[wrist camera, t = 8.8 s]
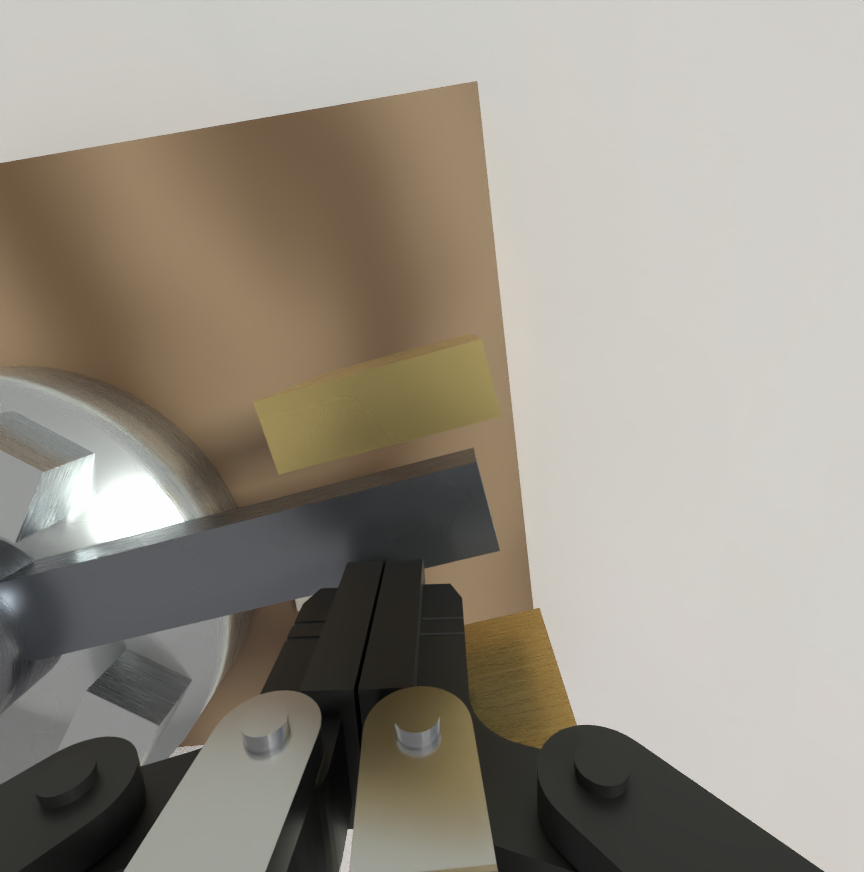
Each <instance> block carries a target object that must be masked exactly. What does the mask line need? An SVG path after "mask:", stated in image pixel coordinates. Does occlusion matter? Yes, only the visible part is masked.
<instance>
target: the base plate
mask: <svg viewBox="0 0 864 872" xmlns="http://www.w3.org/2000/svg"><path fill="white" fill-rule="evenodd" d="M468 333H471V334H473V335H475V336H477V337H479V338H481V339H482V342H483V346H484V350H485V354H486V358H487V362H488V366H489V370H490V374H491V378H492V382H493V386H494V390H495V394H496V398H497V402H498V406H499V410H500V414H501V417H498V418H494V419H490V420H486V421H482V422H478V423H475V424H471V425H467V426H463V427H459V428H455V429H452V430H448V431H444V432H440V433H436V434H432V435H429V436H425V437H421V438H417V439H413V440H409V441H406V442H402V443H398V444H394V445H390V446H386V447H383V448H379V449H375V450H371V451H367V452H363V453H360V454H356V455H352V456H348V457H344V458H341V459H337V460H333V461H329V462H325V463H321V464H318V465H314V466H310V467H306V468H302V469H298V470H295V471H291V472H287V473H283V474H278V472H277V469H276V466H275V463H274V460H273V457H272V455H271V452H270V449H269V446H268V443H267V440H266V438H265V435H264V432H263V429H262V426H261V423H260V421H259V418H258V415H257V412H256V409H255V406H254V404H253V402H254V401H257V400H259V399H261V398H264V397H266V396H269V395H271V394H274V393H276V392H279V391H281V390H284V389H286V388H288V387H291V386H293V385H296V384H298V383H301V382H303V381H306V380H308V379H311V378H313V377H315V376H318V375H320V374H324V373H327V372H331V371H334V370H338V369H342V368H345V367H349V366H353V365H356V364H360V363H363V362H367V361H371V360H374V359H378V358H381V357H385V356H389V355H392V354H396V353H399V352H403V351H407V350H410V349H414V348H417V347H421V346H425V345H428V344H432V343H435V342H439V341H443V340H446V339H450V338H453V337H457V336H461V335H464V334H468ZM15 365H25V366H41V367H51V368H56V369H61V370H66V371H71V372H76V373H79V374H82V375H85V376H89V377H92V378H95V379H98V380H101V381H104V382H106V383H108V384H110V385H113V386H115V387H117V388H119V389H121V390H123V391H125V392H128V393H130V394H132V395H133V396H135V397H137V398H138V399H140V400H141V401H143V402H145V403H146V404H148V405H149V406H151V407H153V408H154V409H156V410H157V411H159V412H160V413H161V414H162V415H164V416H165V417H166V418H167V419H169V420H170V421H171V422H172V423H174V424H175V425H176V426H178V427H179V428H180V429H181V430H182V431H183V432H184V433H185V434H186V435H187V436H188V437H189V438H190V439H191V440H192V441H193V442H194V443H195V444H196V445H197V446H198V447H199V448H200V449H201V450H202V452H203V453H204V454H205V455H206V457H207V458H208V459H209V461H210V462H211V463H212V464H213V466H214V467H215V468H216V469H217V471H218V472H219V474H220V475H221V477H222V479H223V480H224V482H225V484H226V485H227V487H228V489H229V490H230V492H231V494H232V495H233V498H234V500H235V502H236V504H237V506H238V508H239V507H243V506H247V505H251V504H255V503H259V502H263V501H267V500H271V499H275V498H278V497H282V496H286V495H290V494H294V493H298V492H302V491H306V490H310V489H313V488H317V487H321V486H325V485H329V484H333V483H337V482H341V481H345V480H349V479H352V478H356V477H360V476H364V475H368V474H372V473H376V472H380V471H384V470H388V469H391V468H395V467H399V466H403V465H407V464H411V463H415V462H419V461H423V460H426V459H430V458H434V457H438V456H442V455H446V454H450V453H454V452H458V451H462V450H465V449H469V448H473V447H474V451H475V454H476V458H477V462H478V466H479V470H480V473H481V477H482V481H483V485H484V489H485V492H486V496H487V500H488V504H489V508H490V511H491V515H492V519H493V523H494V527H495V531H496V535H497V539H498V544H499V548H500V551H497V552H493V553H489V554H485V555H480V556H476V557H472V558H468V559H463V560H459V561H455V562H451V563H447V564H442V565H438V566H434V567H430V568H425V569H424V570H425V584H448V583H450V584H451V585H452V586H453V587H454V589H455V590H456V591H457V592H458V593H459V595H460V596H461V597H462V602H463V616H464V625H466V624H470V623H475V622H479V621H484V620H488V619H493V618H497V617H501V616H506V615H510V614H515V613H519V612H524V611H528V610H533V601H532V592H531V582H530V573H529V563H528V554H527V545H526V535H525V526H524V517H523V507H522V498H521V488H520V479H519V470H518V460H517V451H516V441H515V432H514V423H513V413H512V404H511V394H510V385H509V376H508V366H507V357H506V347H505V338H504V329H503V319H502V310H501V300H500V291H499V282H498V272H497V263H496V254H495V244H494V235H493V225H492V216H491V207H490V197H489V188H488V178H487V169H486V160H485V150H484V141H483V131H482V122H481V113H480V103H479V94H478V84H477V81H475V82H470V83H464V84H458V85H452V86H446V87H441V88H435V89H429V90H423V91H417V92H412V93H406V94H400V95H394V96H388V97H382V98H377V99H371V100H365V101H359V102H353V103H348V104H342V105H336V106H330V107H324V108H319V109H313V110H307V111H301V112H295V113H290V114H284V115H278V116H272V117H266V118H260V119H255V120H249V121H243V122H237V123H231V124H226V125H220V126H214V127H208V128H202V129H197V130H191V131H185V132H179V133H173V134H167V135H162V136H156V137H150V138H144V139H138V140H133V141H127V142H121V143H115V144H109V145H104V146H98V147H92V148H86V149H80V150H75V151H69V152H63V153H57V154H51V155H45V156H40V157H34V158H28V159H22V160H16V161H11V162H5V163H0V367H1V366H15ZM311 596H313V595H311ZM311 596H307V597H303V598H299V599H295V600H290V601H286V602H282V603H278V604H273V605H269V606H265V607H261V608H257V609H253V614H252V618H251V622H250V625H249V629H248V632H247V636H246V638H245V641H244V643H243V645H242V647H241V649H240V652H239V654H238V656H237V658H236V659H235V661H234V663H233V664H232V666H231V667H230V669H229V670H228V672H227V674H226V675H225V677H224V678H223V680H222V682H221V683H220V685H219V686H218V688H217V689H216V691H215V693H214V694H213V696H212V697H211V699H210V701H209V702H208V704H207V705H206V707H205V709H204V710H203V712H202V713H201V715H200V716H199V718H198V720H197V721H196V723H195V724H194V726H193V727H192V729H191V730H190V732H189V733H188V735H187V736H186V738H185V739H184V741H183V742H182V743H181V744H180V745H179V746H178V747H184V746H195V745H204V744H205V743H206V741H207V740H208V738H209V737H210V735H211V733H212V732H213V730H214V729H215V727H216V726H217V725H218V723H219V722H220V721H221V720H222V719H223V718H224V716H225V715H226V714H228V713H229V712H230V711H231V710H232V709H234V708H235V707H237V706H238V705H240V704H241V703H243V702H245V701H247V700H249V699H250V698H253V697H255V696H258V695H260V693H261V691H262V689H263V687H264V685H265V683H266V681H267V678H268V676H269V674H270V672H271V670H272V668H273V666H274V664H275V662H276V660H277V657H278V655H279V653H280V651H281V649H282V647H283V645H284V643H285V641H287V636H288V634H289V632H290V630H291V628H292V626H293V625H294V622H295V620H296V618H297V615H298V613H299V611H300V609H301V607H302V605H303V603H305V602H306V601H307V600H308V599H309V598H310V597H311Z"/></svg>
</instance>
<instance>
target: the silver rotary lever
mask: <svg viewBox="0 0 864 872" xmlns="http://www.w3.org/2000/svg"><path fill="white" fill-rule="evenodd" d="M253 404H254V406H255V409H256V412H257V415H258V418H259V421H260V423H261V426H262V429H263V432H264V435H265V438H266V440H267V443H268V446H269V449H270V452H271V455H272V457H273V460H274V463H275V466H276V469H277V472H278V474H283V473H287V472H291V471H295V470H298V469H302V468H306V467H310V466H314V465H318V464H321V463H325V462H329V461H333V460H337V459H341V458H344V457H348V456H352V455H356V454H360V453H363V452H367V451H371V450H375V449H379V448H383V447H386V446H390V445H394V444H398V443H402V442H406V441H409V440H413V439H417V438H421V437H425V436H429V435H432V434H436V433H440V432H444V431H448V430H452V429H455V428H459V427H463V426H467V425H471V424H475V423H478V422H482V421H486V420H490V419H494V418H498V417H501V414H500V410H499V406H498V402H497V398H496V394H495V390H494V386H493V382H492V378H491V374H490V370H489V366H488V362H487V358H486V354H485V350H484V346H483V342H482V339H481V338H479V337H477V336H475V335H473V334H471V333H468V334H464V335H461V336H457V337H453V338H450V339H446V340H443V341H439V342H435V343H432V344H428V345H425V346H421V347H417V348H414V349H410V350H407V351H403V352H399V353H396V354H392V355H389V356H385V357H381V358H378V359H374V360H371V361H367V362H363V363H360V364H356V365H353V366H349V367H345V368H342V369H338V370H334V371H331V372H327V373H324V374H320V375H318V376H315V377H313V378H311V379H308V380H306V381H303V382H301V383H298V384H296V385H293V386H291V387H288V388H286V389H284V390H281V391H279V392H276V393H274V394H271V395H269V396H266V397H264V398H261V399H259V400H257V401H254V402H253ZM497 551H500V548H499V544H498V539H497V535H496V531H495V527H494V523H493V519H492V515H491V511H490V508H489V504H488V500H487V496H486V492H485V489H484V485H483V481H482V477H481V473H480V470H479V466H478V462H477V458H476V454H475V451H474V447H473V448H469V449H465V450H462V451H458V452H454V453H450V454H446V455H442V456H438V457H434V458H430V459H426V460H423V461H419V462H415V463H411V464H407V465H403V466H399V467H395V468H391V469H388V470H384V471H380V472H376V473H372V474H368V475H364V476H360V477H356V478H352V479H349V480H345V481H341V482H337V483H333V484H329V485H325V486H321V487H317V488H313V489H310V490H306V491H302V492H298V493H294V494H290V495H286V496H282V497H278V498H275V499H271V500H267V501H263V502H259V503H255V504H251V505H247V506H243V507H239V508H238V506H237V504H236V502H235V500H234V498H233V495H232V494H231V492H230V490H229V489H228V487H227V485H226V484H225V482H224V480H223V479H222V477H221V475H220V474H219V472H218V471H217V469H216V468H215V467H214V466H213V464H212V463H211V462H210V461H209V459H208V458H207V457H206V455H205V454H204V453H203V452H202V450H201V449H200V448H199V447H198V446H197V445H196V444H195V443H194V442H193V441H192V440H191V439H190V438H189V437H188V436H187V435H186V434H185V433H184V432H183V431H182V430H181V429H180V428H179V427H178V426H176V425H175V424H174V423H172V422H171V421H170V420H169V419H167V418H166V417H165V416H164V415H162V414H161V413H160V412H159V411H157V410H156V409H154V408H153V407H151V406H149V405H148V404H146V403H145V402H143V401H141V400H140V399H138V398H137V397H135V396H133V395H132V394H130V393H128V392H125V391H123V390H121V389H119V388H117V387H115V386H113V385H110V384H108V383H106V382H104V381H101V380H98V379H95V378H92V377H89V376H85V375H82V374H79V373H76V372H71V371H66V370H61V369H56V368H51V367H41V366H25V365H15V366H1V367H0V784H2V783H4V782H6V781H7V780H9V779H11V778H13V777H14V776H16V775H18V774H19V773H21V772H23V771H25V770H26V769H28V768H30V767H32V766H33V765H35V764H37V763H39V762H40V761H42V760H44V759H45V758H47V757H49V756H51V755H52V754H54V753H56V752H58V751H60V750H62V749H64V748H66V747H69V746H71V745H73V744H76V743H79V742H82V741H85V740H89V739H93V738H98V737H106V736H110V737H120V738H124V739H126V740H128V741H130V742H131V743H132V744H133V745H134V746H135V748H136V750H137V753H138V757H139V761H140V765H141V766H144V765H147V764H151V763H154V762H158V761H161V760H164V759H167V758H168V757H169V756H170V755H171V754H172V753H173V752H174V750H175V749H176V748H177V747H178V746H179V745H180V744H181V743H182V742H183V741H184V739H185V738H186V736H187V735H188V733H189V732H190V730H191V729H192V727H193V726H194V724H195V723H196V721H197V720H198V718H199V716H200V715H201V713H202V712H203V710H204V709H205V707H206V705H207V704H208V702H209V701H210V699H211V697H212V696H213V694H214V693H215V691H216V689H217V688H218V686H219V685H220V683H221V682H222V680H223V678H224V677H225V675H226V674H227V672H228V670H229V669H230V667H231V666H232V664H233V663H234V661H235V659H236V658H237V656H238V654H239V652H240V649H241V647H242V645H243V643H244V641H245V638H246V636H247V632H248V629H249V625H250V622H251V618H252V614H253V609H257V608H261V607H265V606H269V605H273V604H278V603H282V602H286V601H290V600H295V599H299V598H303V597H307V596H311V595H314V594H315V593H316V592H317V591H318V590H319V589H321V588H338V586H339V584H340V581H341V578H342V576H343V573H344V570H345V568H346V565H347V563H348V562H363V561H385V562H387V560H412V559H423V560H424V569H425V568H430V567H434V566H438V565H442V564H447V563H451V562H455V561H459V560H463V559H468V558H472V557H476V556H480V555H485V554H489V553H493V552H497ZM464 630H465V644H466V657H467V671H468V685H469V697H470V703H471V706H472V708H473V711H474V712H475V714H476V716H477V717H478V718H479V720H480V721H481V722H482V723H483V724H484V725H485V726H486V727H487V728H489V729H490V730H491V731H493V732H494V733H496V734H497V735H499V736H501V737H503V738H505V739H507V740H510V741H513V742H516V743H520V744H524V745H527V746H531V747H535V748H539V749H541V748H542V746H543V745H544V743H545V742H546V741H547V740H548V739H549V738H550V737H551V736H552V735H553V734H555V733H556V732H558V731H560V730H562V729H565V728H568V727H572V726H577V724H576V721H575V718H574V715H573V712H572V709H571V706H570V703H569V699H568V696H567V693H566V690H565V687H564V684H563V681H562V677H561V674H560V671H559V668H558V665H557V662H556V659H555V656H554V652H553V649H552V646H551V643H550V640H549V637H548V634H547V630H546V627H545V624H544V621H543V618H542V615H541V612H540V609H539V608H537V609H533V610H528V611H524V612H519V613H515V614H510V615H506V616H501V617H497V618H493V619H488V620H484V621H479V622H475V623H470V624H466V625H464Z"/></svg>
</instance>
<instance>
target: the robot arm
mask: <svg viewBox="0 0 864 872" xmlns="http://www.w3.org/2000/svg"><path fill="white" fill-rule="evenodd" d="M347 829H353V838H352V849H351V859H350V870H349V872H824V871H822V870H821V869H820V868H818V867H817V866H815V865H814V864H812V863H811V862H809V861H808V860H807V859H805V858H804V857H802V856H801V855H799V854H798V853H796V852H795V851H794V850H792V849H791V848H789V847H788V846H786V845H785V844H784V843H782V842H781V841H779V840H778V839H776V838H775V837H773V836H772V835H771V834H769V833H768V832H766V831H765V830H763V829H762V828H760V827H759V826H758V825H756V824H755V823H753V822H752V821H750V820H749V819H747V818H746V817H745V816H743V815H742V814H740V813H739V812H737V811H736V810H734V809H733V808H732V807H730V806H729V805H727V804H726V803H724V802H723V801H721V800H720V799H719V798H717V797H716V796H714V795H713V794H711V793H710V792H708V791H707V790H706V789H704V788H703V787H701V786H700V785H698V784H697V783H695V782H694V781H693V780H691V779H690V778H688V777H687V776H685V775H684V774H682V773H681V772H680V771H678V770H677V769H675V768H674V767H672V766H671V765H669V764H668V763H667V762H665V761H664V760H662V759H661V758H659V757H658V756H657V755H655V754H654V753H652V752H651V751H649V750H648V749H646V748H645V747H644V746H642V745H641V744H639V743H638V742H636V741H635V740H633V739H631V738H630V737H628V736H626V735H624V734H622V733H620V732H618V731H615V730H612V729H609V728H606V727H601V726H595V725H577V726H572V727H568V728H565V729H562V730H560V731H558V732H556V733H555V734H553V735H552V736H551V737H550V738H549V739H548V740H547V741H546V742H545V743H544V745H543V746H542V748H541V749H539V748H535V747H531V746H527V745H524V744H520V743H516V742H513V741H510V740H507V739H505V738H503V737H501V736H499V735H497V734H496V733H494V732H493V731H491V730H490V729H489V728H487V727H486V726H485V725H484V724H483V723H482V722H481V721H480V720H479V718H478V717H477V716H476V714H475V712H474V711H473V708H472V706H471V703H470V697H469V685H468V671H467V657H466V644H465V630H464V616H463V602H462V597H461V596H460V595H459V593H458V592H457V591H456V590H455V589H454V587H453V586H452V585H451V584H450V583H448V584H425V570H424V560H423V559H412V560H387V562H385V561H363V562H348V563H347V565H346V568H345V570H344V573H343V576H342V578H341V581H340V584H339V586H338V588H321V589H319V590H318V591H317V592H316V593H315V594H314V595H313V596H311V597H310V598H309V599H308V600H307V601H306V602H305V603H303V605H302V607H301V609H300V611H299V613H298V615H297V618H296V620H295V622H294V625H293V626H292V628H291V630H290V632H289V634H288V636H287V641H285V643H284V645H283V647H282V649H281V651H280V653H279V655H278V657H277V660H276V662H275V664H274V666H273V668H272V670H271V672H270V674H269V676H268V678H267V681H266V683H265V685H264V687H263V689H262V691H261V693H260V695H258V696H255V697H253V698H250V699H249V700H247V701H245V702H243V703H241V704H240V705H238V706H237V707H235V708H234V709H232V710H231V711H230V712H229V713H228V714H226V715H225V716H224V718H223V719H222V720H221V721H220V722H219V723H218V725H217V726H216V727H215V729H214V730H213V732H212V733H211V735H210V737H209V738H208V740H207V741H206V743H205V744H204V746H203V748H200V749H197V750H195V751H192V752H189V753H185V754H182V755H178V756H175V757H171V758H168V759H164V760H161V761H158V762H154V763H151V764H147V765H144V766H141V765H140V761H139V757H138V753H137V750H136V748H135V746H134V745H133V744H132V743H131V742H130V741H128V740H126V739H124V738H120V737H110V736H106V737H98V738H93V739H89V740H85V741H82V742H79V743H76V744H73V745H71V746H69V747H66V748H64V749H62V750H60V751H58V752H56V753H54V754H52V755H51V756H49V757H47V758H45V759H44V760H42V761H40V762H39V763H37V764H35V765H33V766H32V767H30V768H28V769H26V770H25V771H23V772H21V773H19V774H18V775H16V776H14V777H13V778H11V779H9V780H7V781H6V782H4V783H2V784H0V872H341V869H340V866H341V862H342V857H343V851H344V846H345V840H346V835H347Z"/></svg>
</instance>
